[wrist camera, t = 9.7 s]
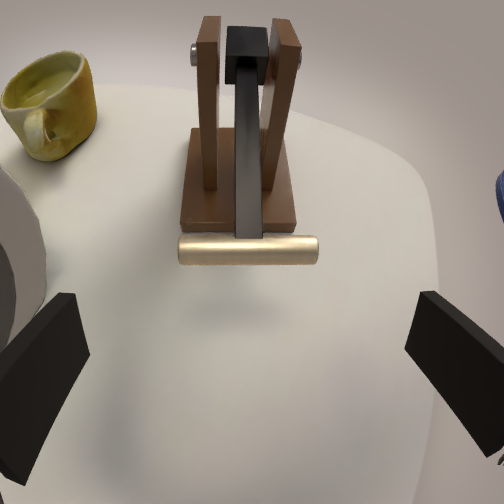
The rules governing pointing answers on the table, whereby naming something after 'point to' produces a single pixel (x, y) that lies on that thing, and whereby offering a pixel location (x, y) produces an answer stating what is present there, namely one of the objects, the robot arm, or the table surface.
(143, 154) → the table surface
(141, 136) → the table surface
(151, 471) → the table surface
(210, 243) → the switch lever
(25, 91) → the mug
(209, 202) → the wooden lever stand
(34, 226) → the alarm clock
